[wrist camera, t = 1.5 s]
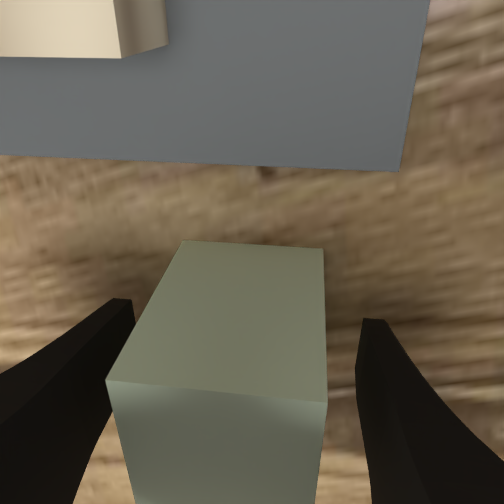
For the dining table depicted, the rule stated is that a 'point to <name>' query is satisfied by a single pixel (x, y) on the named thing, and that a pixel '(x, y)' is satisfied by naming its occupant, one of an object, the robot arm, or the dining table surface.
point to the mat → (231, 89)
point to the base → (81, 28)
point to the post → (226, 378)
